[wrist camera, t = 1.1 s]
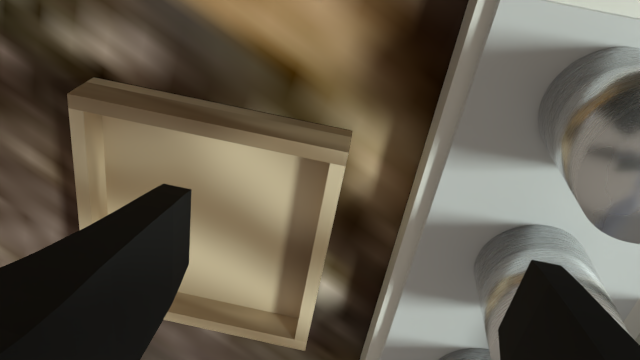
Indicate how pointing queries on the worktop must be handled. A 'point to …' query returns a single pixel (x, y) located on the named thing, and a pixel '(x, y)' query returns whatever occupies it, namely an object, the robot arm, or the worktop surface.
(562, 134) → the cylinder
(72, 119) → the tray
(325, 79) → the worktop surface
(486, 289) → the spacer
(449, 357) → the cylinder
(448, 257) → the scale
